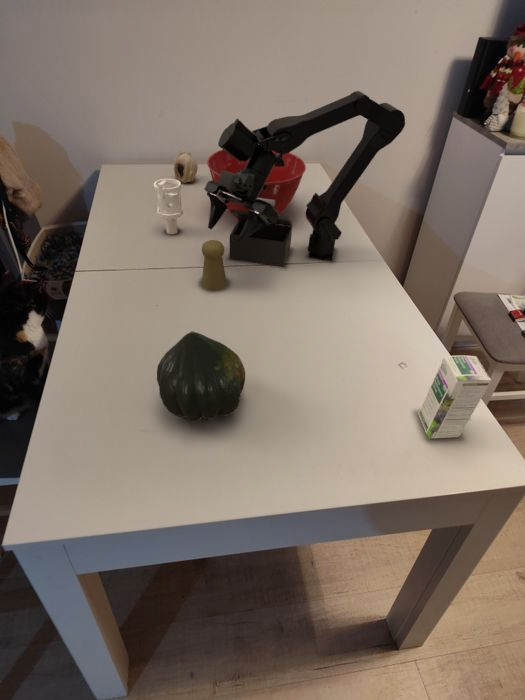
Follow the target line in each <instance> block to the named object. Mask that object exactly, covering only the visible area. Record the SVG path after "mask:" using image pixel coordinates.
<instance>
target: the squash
mask: <svg viewBox="0 0 525 700" xmlns="http://www.w3.org/2000/svg"><path fill="white" fill-rule="evenodd" d="M156 381H157V385H158V391H159V392H158V393H159V397H160V399H161V402H162V405H163V406H164V407H165V408H166V410H167V411H168V412H169V413H170V414H172V415H174V416H176V417H181V418H183V417H184V418H186V419H187V420H188V421H190V422H193V423H195V422H199V421H200V420H201V418H202V417H203V418H204V419H206V420H213V419H215V418H216V417H217V415H219V416H230V415H231V414H233V413H234V412H235V411H236V410H237V409H238V407H239V404H240V400H241V394H242V392H243V390H244V387H245V383H246V369H245V367H244V364H243V361H242V360H241V358H240V356H239V355H238V354H237V353H236V352H235V351H233V350H232V349H231V348H230V347H228V346H227V345H225V344H224V343H222V342H220V341H218V340H215V339H212V338H210V337H208V336H207V335H204V334H202V333H199V332H195V331H194V330H193V331H189V332H188V333H186V334H185V335H184V336H183V337H182V338H181V339H179V340H178V341H177V343H175V344H174V345H173V346H172V347H170V348H169V350H167V352H166V353H165V354H164V355H163V356H162V358H161V359H160V360H159V363H158V365H157V368H156Z"/></svg>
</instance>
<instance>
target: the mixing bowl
mask: <svg viewBox="0 0 525 700" xmlns="http://www.w3.org/2000/svg"><path fill="white" fill-rule="evenodd" d="M272 151H273V152H274V153H275V154H279V153H277V152H276V151H275V150H272ZM282 157H283V160H284V164H285V166H284V167H276V166H275V165H274V167H273V169H272V171H271V173H270V175H269V177H268V179H267V181H266V183H265V185H266V186H267V188H266V190H265V191H264V190H261V192H260V194H259V196H258V198H264V199H271V200H275V206H274V208H275V209H276V210H277V211H278V216H281V214H282V213H284V211H285V210H286V209H287V208H288V206H289V205H290V203H291V201H292V200H293V198H294V197H295V194H296V193H297V190H298V188H299V186H300V184H301V181H302V179H303V175H304V173H305V172H306V170H307V166H306V162H305V161H304V160H303V159H302V158H300V157H299V156H298V155H295V154H294V153H291V152H289V153H287V154H282ZM248 160H249V159H248ZM248 160H246V161H245V162H244V161H241V162H239V161H238V160H236V159H235V158H234V157H232V156H231V155H230V154H228V153H227V152H226V151H224V150H223V149H220V150H218V151H216V152H215V151H214V152H213V153H212V154H211V155H209V157H208V158H207V161H206V165H207V168H208V169H209V173H210V176H211V180H213V181H215V182H219V178H220V174H221V170H223V171H227V172H231V173H234V174H236V173H237V171H238V170H239V169H242V170H244V168H245V166H246V164H247V162H248ZM228 190H229V189H228ZM229 191H230V190H229ZM230 192H231V193H232V191H230ZM236 200H237V199H236ZM238 201H239V200H238ZM244 203H246V202H244ZM224 204H225V203H224ZM246 204H247V203H246ZM226 205H227V206H228V208H227V209H226V210H227V212H229V213H230V214H231V215H233V214H232V213H231V212H230V210H231V209H234V210H241V211H249V210H250V209H247V208H245V207H243V206H240V205H238V204H236V203H233V202H231V201H230V202H229V203H227V204H226ZM253 212H254V211H253ZM241 220H243V219H241Z"/></svg>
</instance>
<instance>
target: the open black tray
mask: <svg viewBox="0 0 525 700" xmlns="http://www.w3.org/2000/svg"><path fill="white" fill-rule="evenodd" d="M246 221H247V220H241V219H238V220H237V221H236V223H235V226H234V227H233V228H232V230H231V232H230V234H229V259H230V260H235V261H242V262H247V263H254V264H261V265H268V266H273V267H281V268H284V267H285V266H286V263H287V259H288V257H289V253H290V251H291V245H292V244H291V243H292V232H293V226H285V225H278V224H271V223H269V226H267V225H265V226H264V227H262V228H261V229H259V230H257V231H256V232H254V233H253V234H252V235H250V236H249V237H248V238H246V239H245V240H244V241H243V242H241V243H239V242H237V240H238V237H239V235H240V233H241V231H242V229H243V227H244V225H245V223H246Z"/></svg>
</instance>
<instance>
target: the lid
mask: <svg viewBox="0 0 525 700" xmlns="http://www.w3.org/2000/svg"><path fill="white" fill-rule="evenodd" d="M257 199H260V200H262V201H265V202H267V203H270V204H271V205H272V206H273V207H274V206H275V200H271V199H264V198H257ZM251 211H252V210H251ZM230 212H231V213H232V214H231V213H230ZM230 212H229V213H230V214H231V215H232V216H234V217H235V218H237V219H238V220H239V219H243V220H247V219H248V211H241V210H234V209H231V210H230ZM268 223H269V222H268ZM275 224H277V225H284V226H291V227H293V222H292V220H291V218H290V216H285V215H279V216H278V219H277V221H276V223H275Z"/></svg>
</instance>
